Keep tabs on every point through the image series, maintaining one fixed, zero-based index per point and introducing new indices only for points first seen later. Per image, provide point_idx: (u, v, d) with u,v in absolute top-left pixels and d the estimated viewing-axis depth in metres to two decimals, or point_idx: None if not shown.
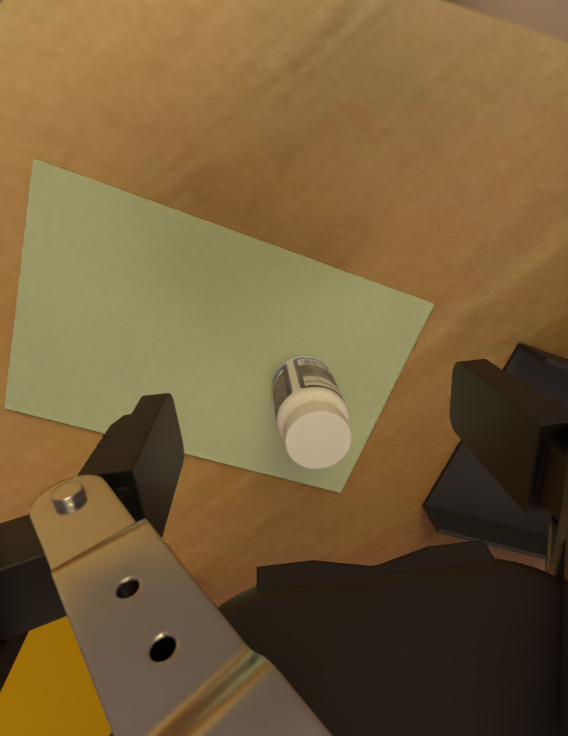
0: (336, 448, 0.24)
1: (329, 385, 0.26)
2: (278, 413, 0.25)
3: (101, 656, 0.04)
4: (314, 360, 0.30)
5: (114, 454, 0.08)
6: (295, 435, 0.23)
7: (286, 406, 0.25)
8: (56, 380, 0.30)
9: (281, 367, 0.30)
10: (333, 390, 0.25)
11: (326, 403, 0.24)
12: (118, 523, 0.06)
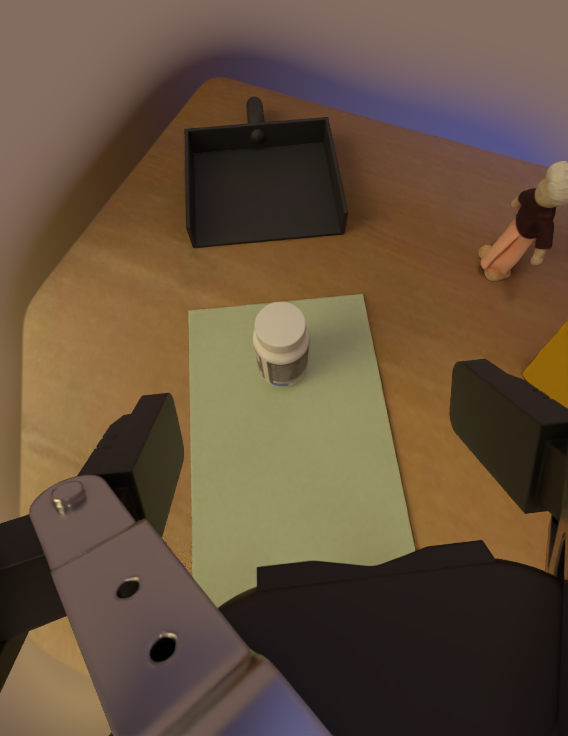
0: (280, 310, 0.31)
1: None
2: (285, 362, 0.32)
3: (101, 656, 0.04)
4: None
5: (114, 454, 0.08)
6: (282, 340, 0.30)
7: (275, 359, 0.32)
8: (373, 560, 0.32)
9: (274, 384, 0.37)
10: None
11: None
12: (118, 523, 0.06)
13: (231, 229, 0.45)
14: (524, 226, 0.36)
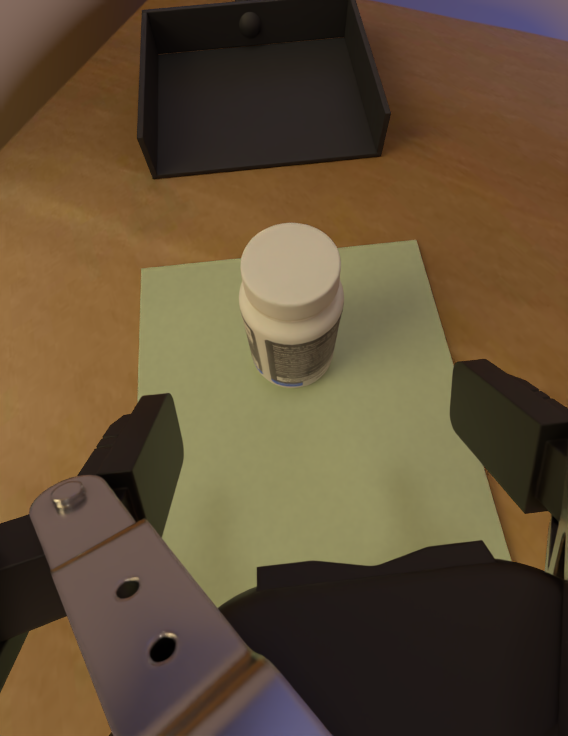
0: (290, 237, 0.16)
1: None
2: (300, 340, 0.17)
3: (101, 656, 0.04)
4: None
5: (114, 454, 0.08)
6: (295, 292, 0.15)
7: (281, 335, 0.17)
8: None
9: (279, 383, 0.22)
10: None
11: (243, 285, 0.17)
12: (118, 523, 0.06)
13: (211, 151, 0.30)
14: None
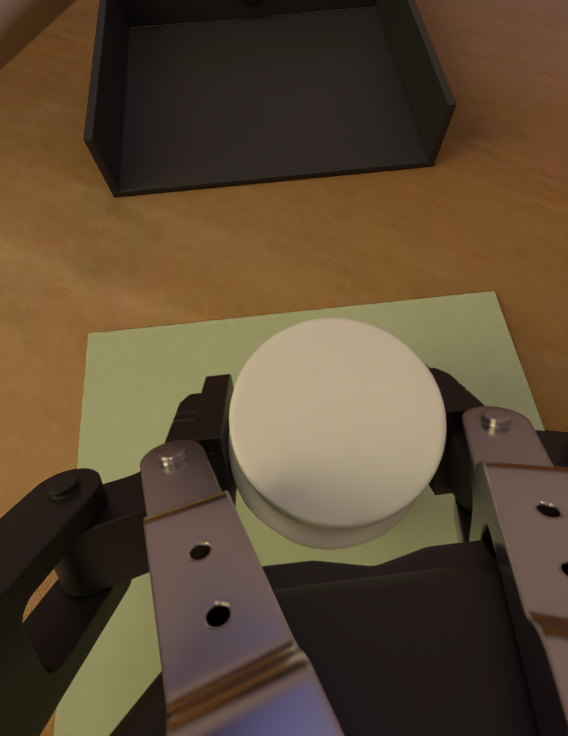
0: (333, 351, 0.08)
1: None
2: (348, 546, 0.09)
3: (167, 605, 0.04)
4: None
5: (198, 424, 0.09)
6: (351, 494, 0.07)
7: (311, 539, 0.08)
8: None
9: None
10: None
11: None
12: (207, 489, 0.07)
13: (195, 158, 0.21)
14: None
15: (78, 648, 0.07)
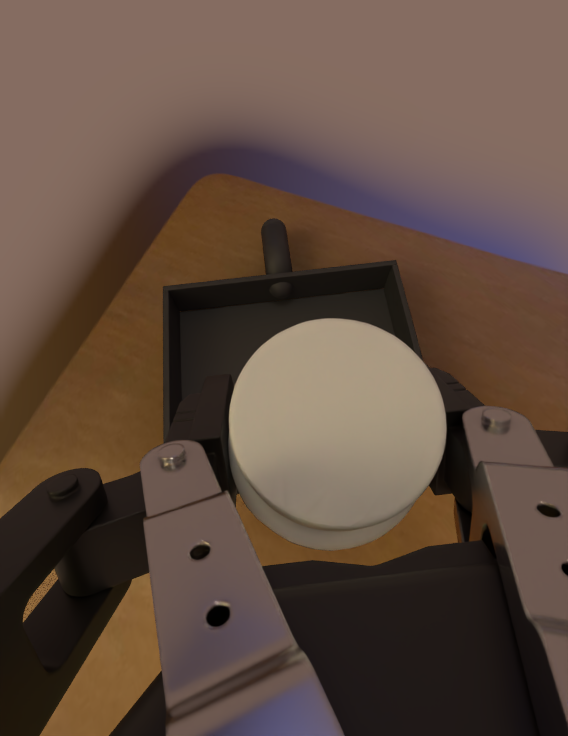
0: (333, 352, 0.08)
1: None
2: (348, 547, 0.09)
3: (167, 605, 0.04)
4: None
5: (198, 424, 0.09)
6: (351, 495, 0.07)
7: (311, 540, 0.08)
8: None
9: None
10: None
11: None
12: (207, 489, 0.07)
13: None
14: None
15: (78, 648, 0.07)
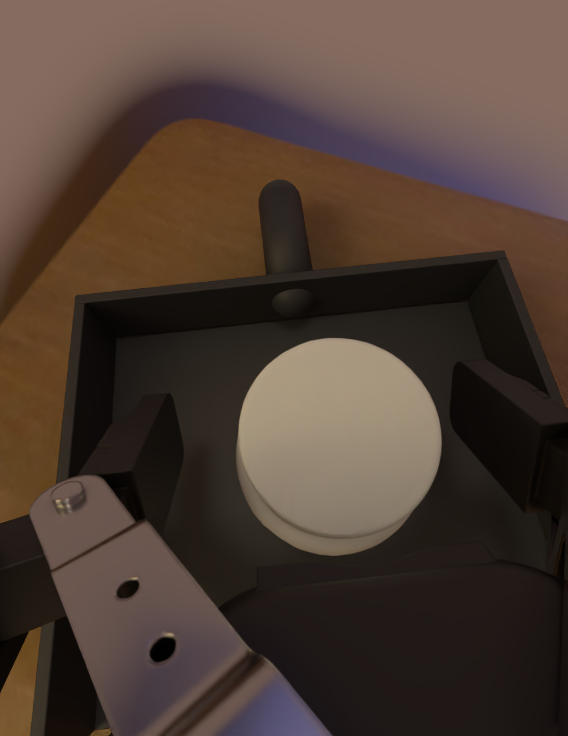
0: (335, 370, 0.08)
1: None
2: (350, 552, 0.09)
3: (101, 656, 0.04)
4: None
5: (114, 454, 0.08)
6: (352, 505, 0.07)
7: (315, 546, 0.09)
8: None
9: None
10: None
11: None
12: (118, 523, 0.06)
13: None
14: None
15: None
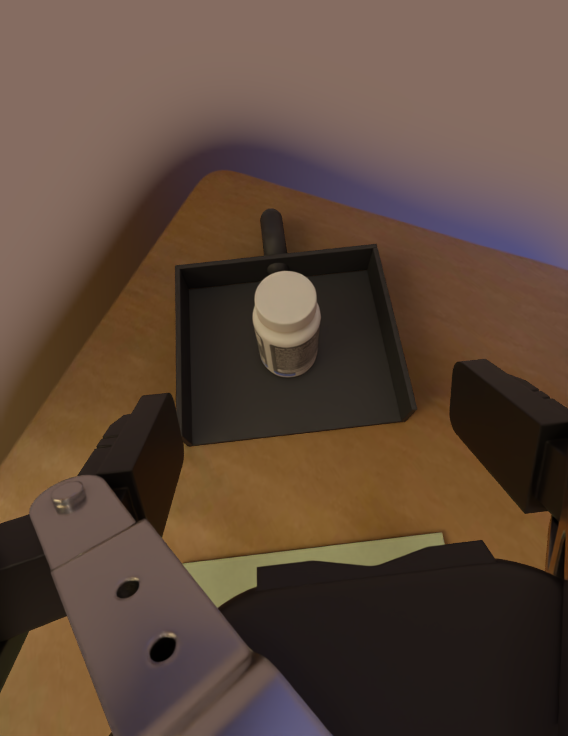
0: (285, 280, 0.26)
1: None
2: (292, 345, 0.27)
3: (101, 656, 0.04)
4: None
5: (114, 454, 0.08)
6: (288, 316, 0.25)
7: (280, 341, 0.27)
8: None
9: (279, 374, 0.32)
10: None
11: None
12: (118, 523, 0.06)
13: (243, 416, 0.31)
14: None
15: None
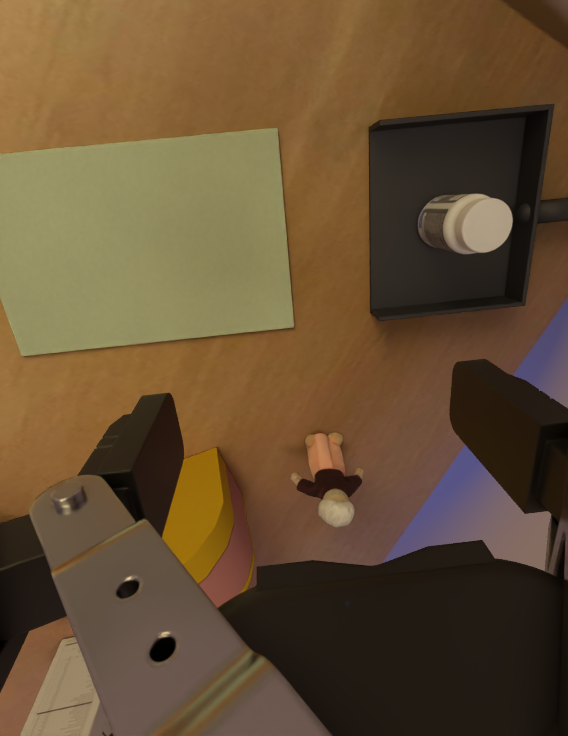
0: (502, 226, 0.31)
1: None
2: (444, 229, 0.33)
3: (101, 656, 0.04)
4: (446, 195, 0.37)
5: (114, 454, 0.08)
6: (469, 228, 0.31)
7: (449, 218, 0.32)
8: (43, 319, 0.40)
9: (422, 213, 0.37)
10: None
11: (481, 198, 0.31)
12: (118, 523, 0.06)
13: (389, 179, 0.37)
14: (323, 474, 0.41)
15: None
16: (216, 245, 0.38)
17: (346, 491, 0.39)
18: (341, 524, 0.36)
